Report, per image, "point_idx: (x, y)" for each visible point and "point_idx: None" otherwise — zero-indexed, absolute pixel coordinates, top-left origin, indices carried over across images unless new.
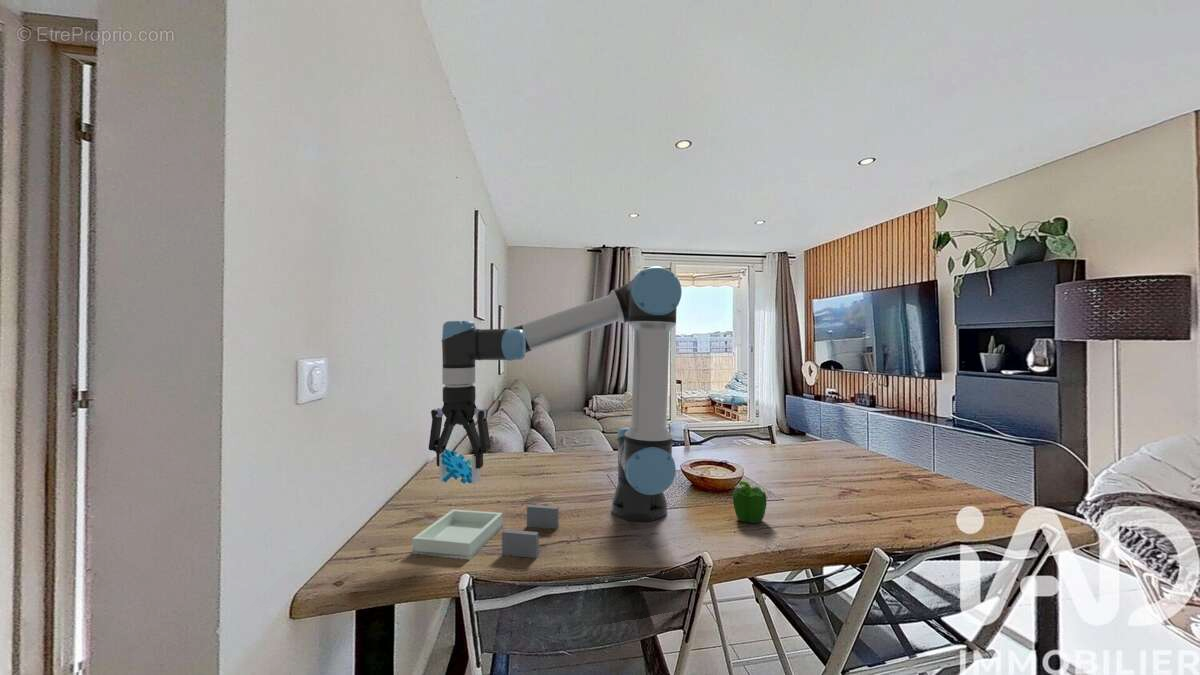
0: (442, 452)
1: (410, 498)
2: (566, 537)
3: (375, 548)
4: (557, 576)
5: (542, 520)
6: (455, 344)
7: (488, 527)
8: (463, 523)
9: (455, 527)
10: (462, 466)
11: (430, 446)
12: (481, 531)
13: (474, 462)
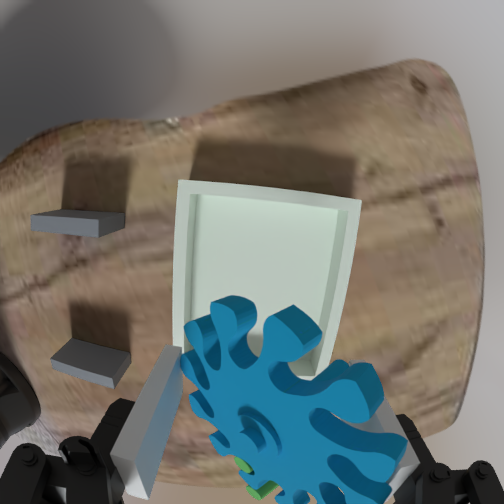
0: (402, 485)
1: (428, 428)
2: (45, 300)
3: (435, 223)
4: (24, 153)
5: (91, 352)
6: None
7: (173, 290)
8: None
9: None
10: (242, 428)
11: (487, 478)
12: (177, 257)
13: (127, 420)
